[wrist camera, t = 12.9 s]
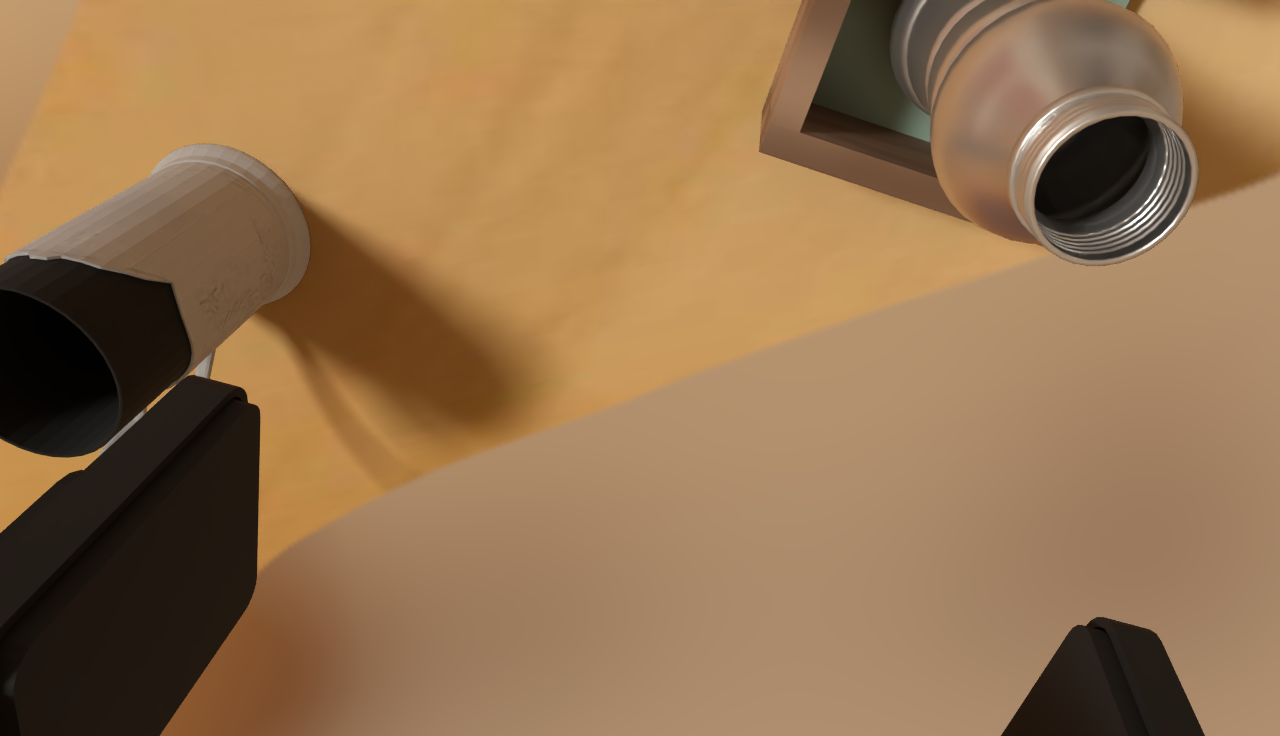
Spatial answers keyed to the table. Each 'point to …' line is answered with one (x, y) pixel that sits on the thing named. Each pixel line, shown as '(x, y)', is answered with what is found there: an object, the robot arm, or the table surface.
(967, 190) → the plastic bottle
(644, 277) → the table surface
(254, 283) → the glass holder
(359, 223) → the table surface
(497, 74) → the table surface
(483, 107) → the table surface
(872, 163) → the u rest
